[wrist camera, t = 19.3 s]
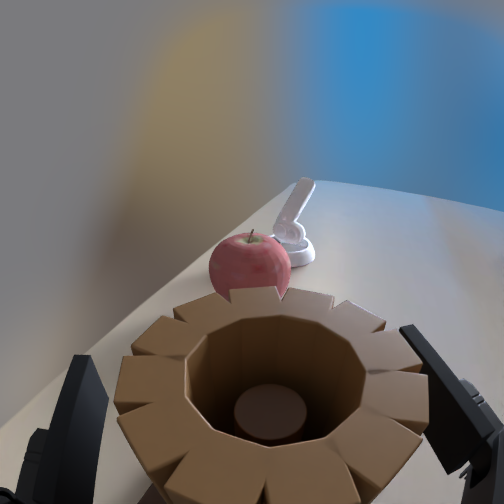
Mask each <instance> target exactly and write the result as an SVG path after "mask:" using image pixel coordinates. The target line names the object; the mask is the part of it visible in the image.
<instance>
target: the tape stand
mask: <svg viewBox="0 0 504 504" xmlns="http://www.w3.org/2000/svg"><path fill="white" fill-rule="evenodd" d="M306 419H307V406H306V404H305V402H304V400H303V398H302V397H301V396H300V395H299V394H298V393H297V392H295V391H294V390H292V389H290V388H288V387H285V386H282V385H277V384H263V385H258V386H255V387H252V388H250V389H248V390H246V391H245V392H244V393H242V394H241V395H240V397H239V398H238V399H237V401H236V403H235V406H234V427H235V437H238V438H241V439H244V440H247V441H250V442H253V443H256V444H260V445H263V446H266V447H275V446H282V445H288V444H294V443H300V442H301V440H302V436H303V432H304V428H305V423H306ZM138 504H167V503H166V502H165V500H164V499H163V497H162V496H161V495H160V493H159V492H158V490H157V489H156V487H155V486H154V484H153V483H152V485H151V486H150V487H149V489H148V490H147V491H146V493H145V494H144V496H143V497H142V498H141V500H140V501H139V502H138Z"/></svg>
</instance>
